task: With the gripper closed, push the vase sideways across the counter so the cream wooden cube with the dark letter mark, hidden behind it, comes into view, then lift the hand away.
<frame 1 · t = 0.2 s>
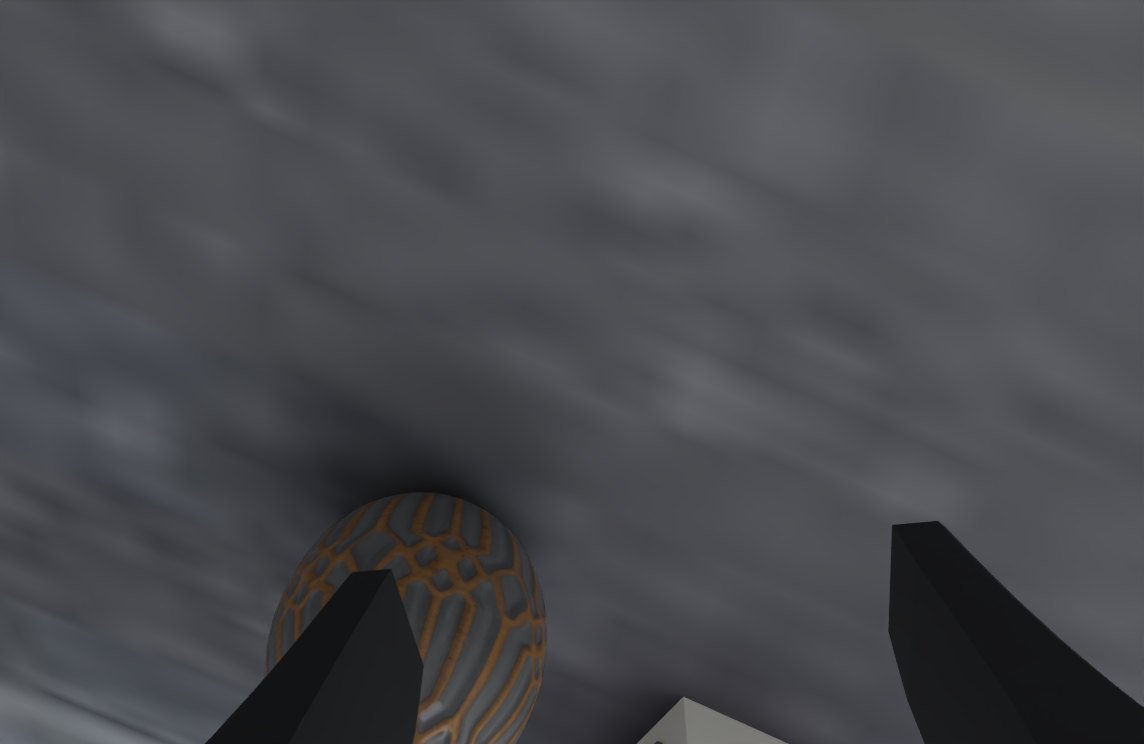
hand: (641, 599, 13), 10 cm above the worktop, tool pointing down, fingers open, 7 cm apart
vase: (437, 543, 26), on the worktop
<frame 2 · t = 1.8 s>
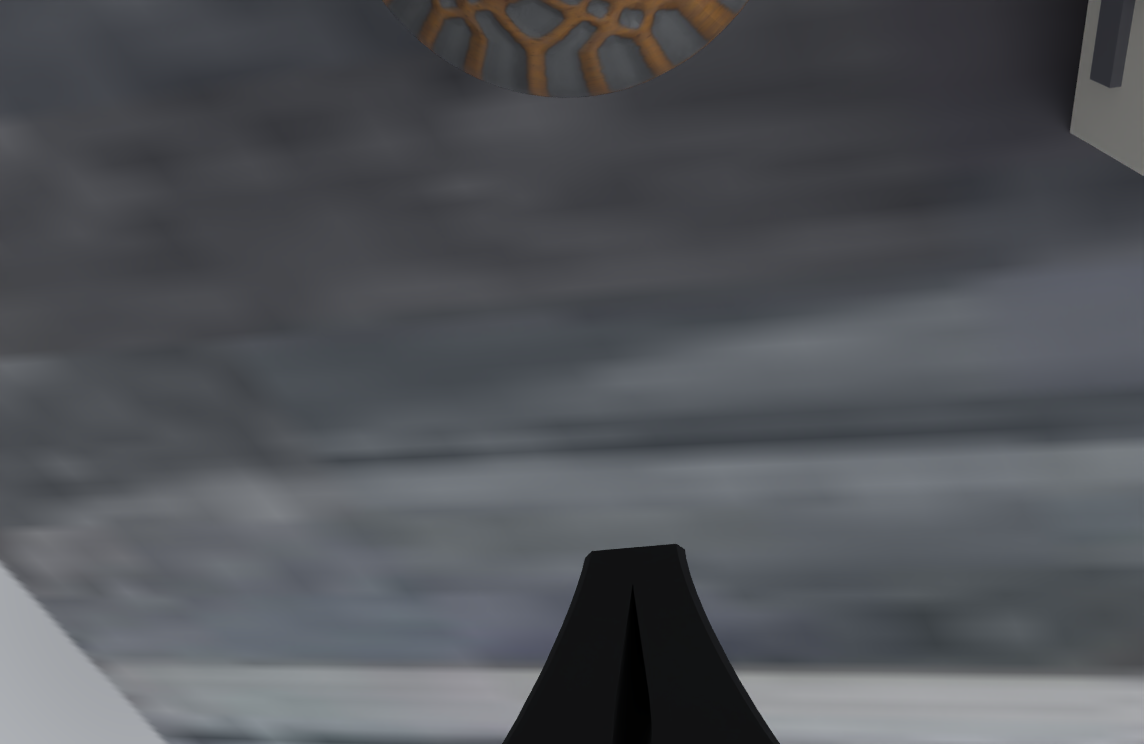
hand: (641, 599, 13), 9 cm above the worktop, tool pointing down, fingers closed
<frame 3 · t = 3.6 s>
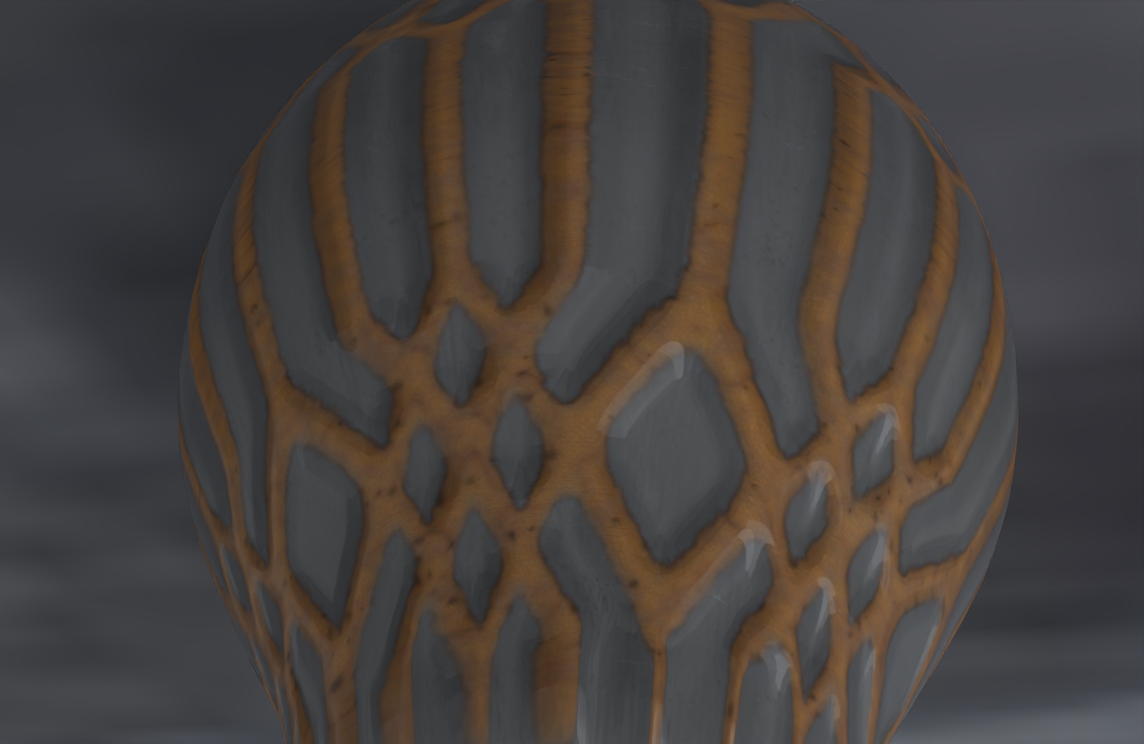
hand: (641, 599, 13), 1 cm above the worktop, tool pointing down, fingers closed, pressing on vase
vase: (601, 217, 12), on the worktop, touching gripper
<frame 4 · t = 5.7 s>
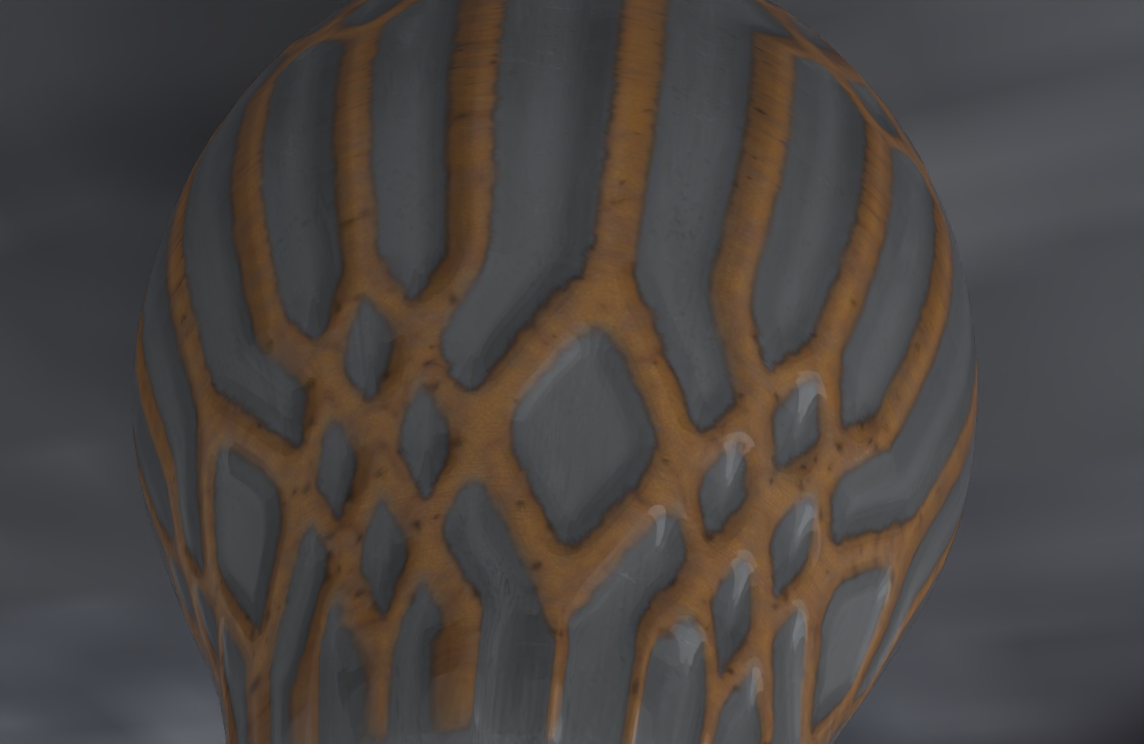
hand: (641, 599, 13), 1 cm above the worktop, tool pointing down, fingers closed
vase: (577, 212, 12), on the worktop
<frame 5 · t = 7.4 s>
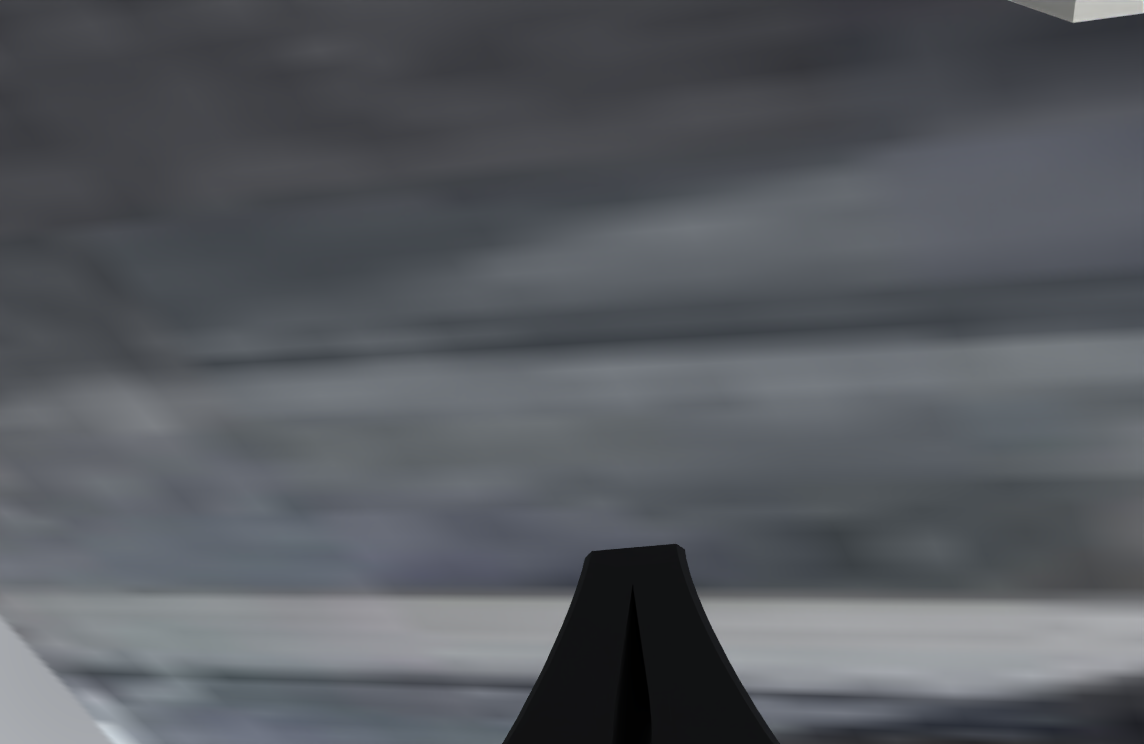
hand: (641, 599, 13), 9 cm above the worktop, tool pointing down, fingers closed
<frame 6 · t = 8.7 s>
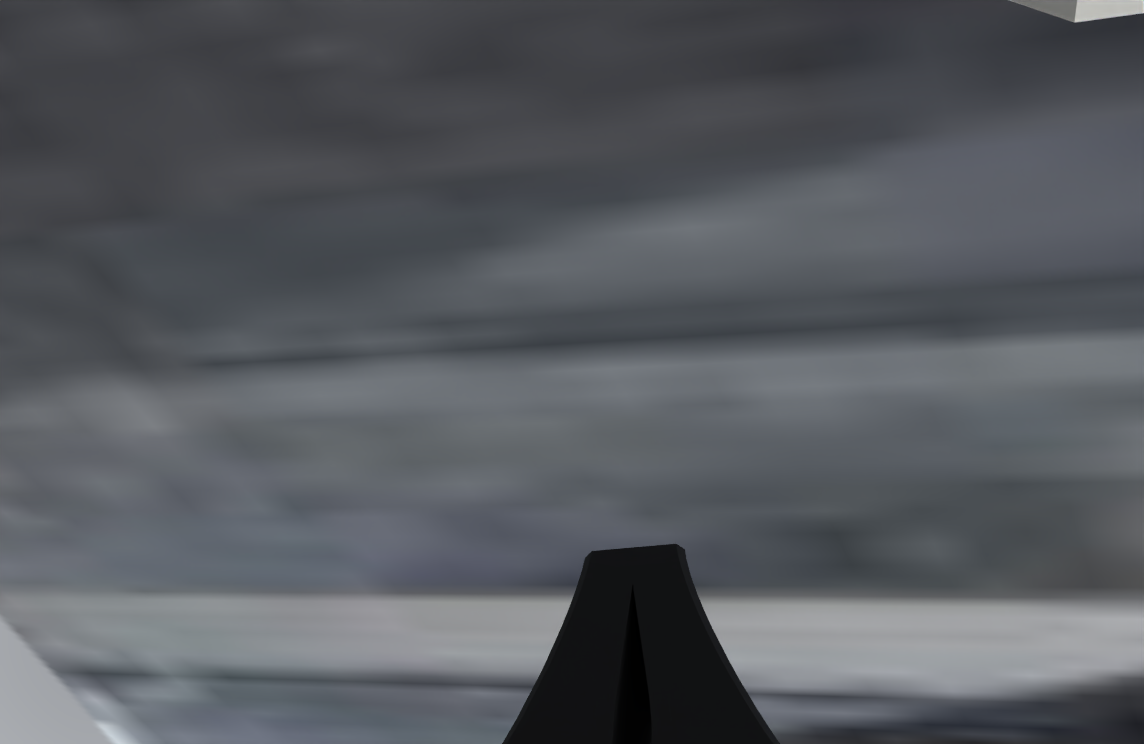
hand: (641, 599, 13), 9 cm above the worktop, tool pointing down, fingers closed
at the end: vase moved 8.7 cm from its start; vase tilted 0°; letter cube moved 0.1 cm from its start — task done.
